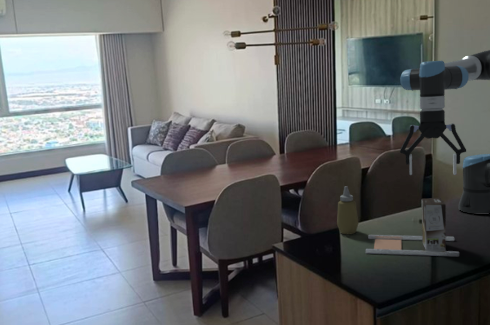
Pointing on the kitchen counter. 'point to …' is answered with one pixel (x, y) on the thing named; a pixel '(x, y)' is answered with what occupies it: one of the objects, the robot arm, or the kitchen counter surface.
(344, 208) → the squeeze bottle
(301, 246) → the kitchen counter surface
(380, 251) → the rail
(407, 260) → the kitchen counter surface
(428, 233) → the coffee box
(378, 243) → the pad
